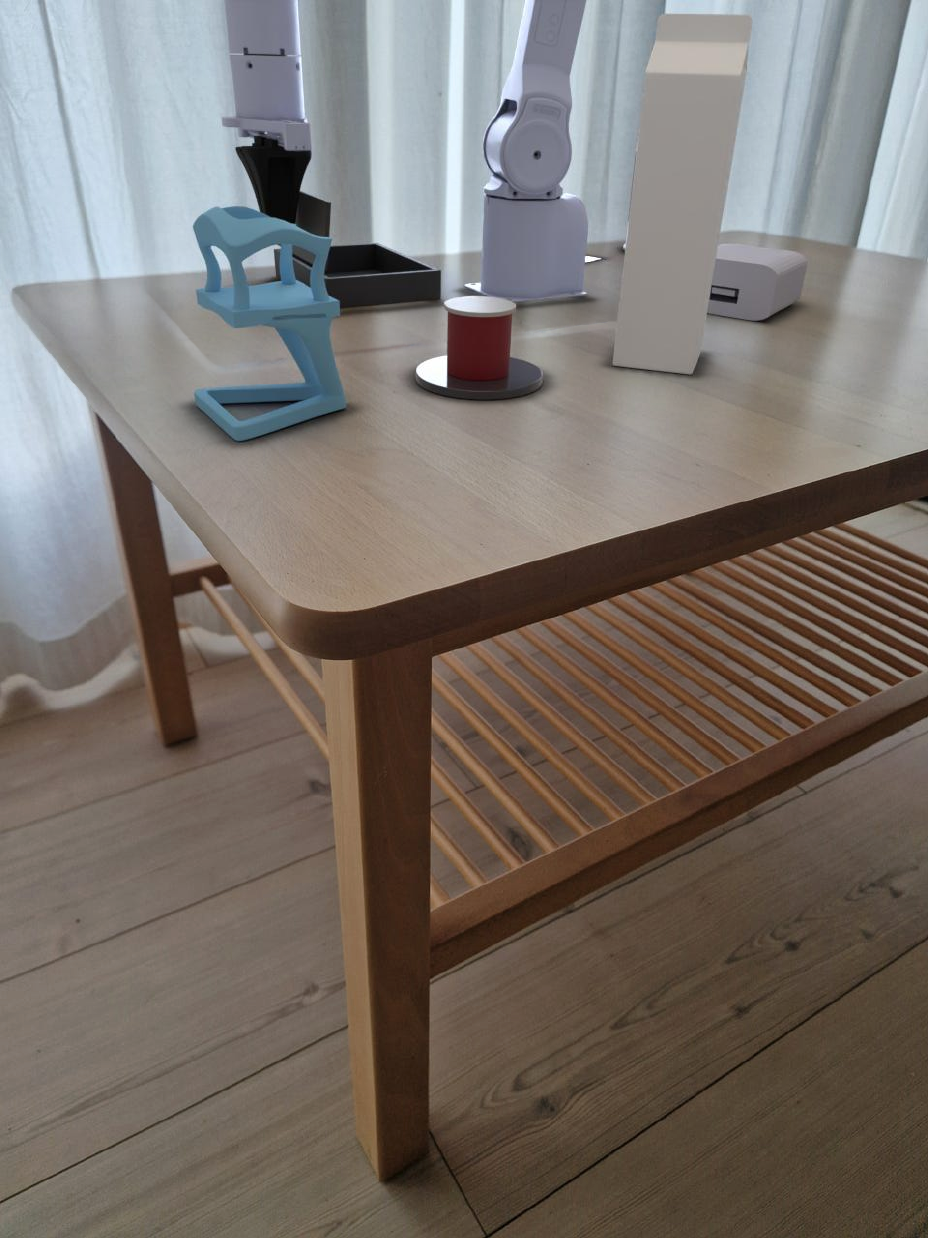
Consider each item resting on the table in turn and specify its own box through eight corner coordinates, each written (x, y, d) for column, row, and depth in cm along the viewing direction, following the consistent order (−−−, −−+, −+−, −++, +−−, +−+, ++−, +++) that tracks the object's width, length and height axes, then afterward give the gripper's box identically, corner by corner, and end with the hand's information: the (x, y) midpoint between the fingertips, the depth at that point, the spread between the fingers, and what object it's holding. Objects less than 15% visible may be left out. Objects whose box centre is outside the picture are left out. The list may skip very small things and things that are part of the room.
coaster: (503, 355, 68) (503, 348, 68) (566, 390, 62) (567, 381, 61) (395, 369, 65) (395, 360, 64) (450, 406, 58) (450, 397, 58)
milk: (624, 346, 72) (663, 15, 60) (701, 354, 70) (756, 16, 58) (611, 366, 67) (650, 10, 55) (693, 375, 65) (751, 11, 53)
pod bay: (327, 314, 78) (325, 278, 76) (276, 280, 89) (273, 248, 87) (440, 304, 82) (441, 270, 81) (378, 273, 93) (377, 242, 92)
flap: (327, 270, 76) (322, 270, 76) (275, 241, 87) (271, 241, 87) (331, 202, 73) (326, 201, 73) (276, 181, 85) (272, 180, 84)
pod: (491, 358, 66) (494, 293, 63) (525, 377, 62) (529, 308, 59) (431, 365, 64) (431, 299, 61) (463, 385, 60) (464, 315, 57)
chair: (364, 419, 56) (356, 209, 49) (235, 442, 52) (209, 218, 45) (313, 385, 61) (300, 192, 55) (193, 403, 57) (165, 199, 51)
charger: (817, 294, 90) (767, 323, 79) (729, 281, 94) (671, 307, 83) (828, 244, 87) (779, 266, 77) (737, 233, 91) (679, 253, 81)
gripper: (195, 53, 76) (215, 224, 84) (241, 54, 66) (259, 251, 73) (275, 55, 79) (287, 220, 86) (332, 57, 68) (340, 246, 76)
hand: (280, 234), depth 80 cm, fingers closed, pressing on flap
